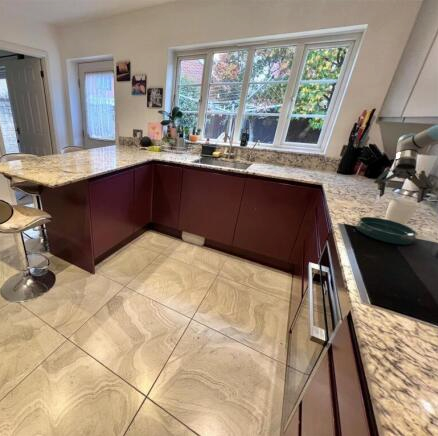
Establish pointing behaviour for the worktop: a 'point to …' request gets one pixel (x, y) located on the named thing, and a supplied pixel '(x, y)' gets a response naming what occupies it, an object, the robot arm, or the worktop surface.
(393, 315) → the worktop surface
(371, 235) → the bowl
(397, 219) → the cup
